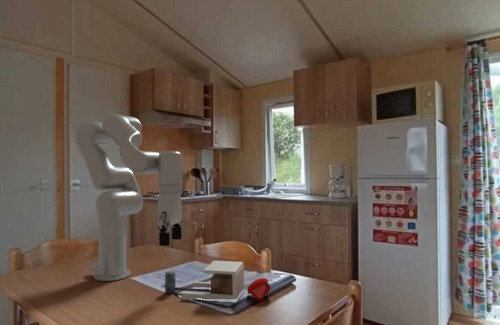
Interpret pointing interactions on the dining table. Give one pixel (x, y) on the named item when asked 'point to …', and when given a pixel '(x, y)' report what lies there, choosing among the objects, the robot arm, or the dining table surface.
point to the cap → (259, 288)
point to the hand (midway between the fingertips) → (170, 242)
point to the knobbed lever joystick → (218, 286)
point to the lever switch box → (220, 268)
